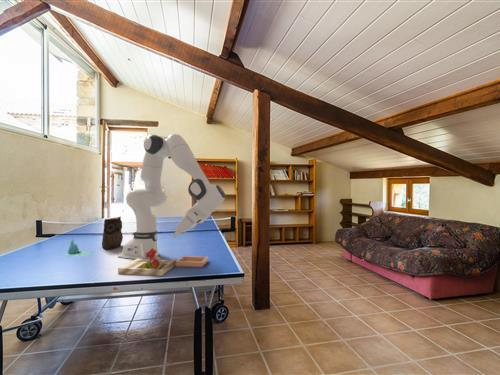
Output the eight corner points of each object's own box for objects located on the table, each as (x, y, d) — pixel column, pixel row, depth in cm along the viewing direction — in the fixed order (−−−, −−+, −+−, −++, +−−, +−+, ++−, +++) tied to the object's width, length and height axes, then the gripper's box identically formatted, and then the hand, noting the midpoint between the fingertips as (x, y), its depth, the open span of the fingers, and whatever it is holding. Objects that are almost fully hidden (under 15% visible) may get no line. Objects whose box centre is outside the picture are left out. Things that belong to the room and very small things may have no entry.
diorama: (84, 258, 151) (84, 242, 151) (55, 255, 155) (56, 241, 155) (101, 252, 163) (101, 238, 163) (73, 250, 167) (73, 237, 167)
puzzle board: (118, 273, 124) (118, 268, 124) (136, 263, 141) (137, 258, 141) (161, 275, 122) (161, 269, 122) (175, 265, 138) (175, 260, 138)
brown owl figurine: (122, 245, 183) (123, 216, 183) (122, 249, 172) (122, 218, 172) (101, 246, 178) (102, 216, 178) (99, 250, 166) (100, 218, 166)
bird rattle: (159, 273, 131) (142, 265, 131) (168, 252, 131) (151, 245, 131) (155, 277, 125) (137, 269, 125) (164, 256, 125) (147, 248, 125)
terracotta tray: (175, 266, 136) (175, 261, 136) (183, 260, 147) (183, 256, 147) (202, 267, 134) (202, 262, 134) (207, 261, 145) (207, 257, 145)
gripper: (199, 207, 136) (181, 226, 137) (186, 211, 116) (164, 233, 117) (208, 216, 136) (189, 235, 137) (196, 221, 115) (174, 243, 116)
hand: (178, 234), depth 127 cm, fingers open, 8 cm apart
